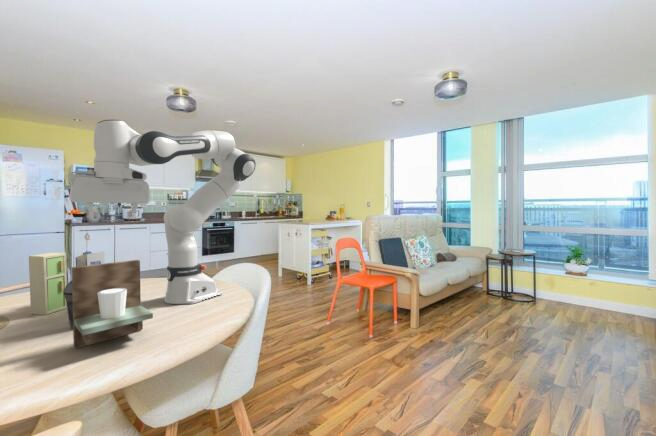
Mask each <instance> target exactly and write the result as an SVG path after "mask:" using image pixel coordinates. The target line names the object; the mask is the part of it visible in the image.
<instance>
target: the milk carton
mask: <svg viewBox="0 0 656 436" xmlns="http://www.w3.org/2000/svg"><path fill="white" fill-rule="evenodd" d="M97 264H105V251H100V252H92V251H86V252H82V254H80V255H79V256H76V257H75V267H79V266H81V265H83V266H88V265H97Z"/></svg>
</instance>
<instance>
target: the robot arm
mask: <svg viewBox="0 0 656 436" xmlns="http://www.w3.org/2000/svg"><path fill="white" fill-rule="evenodd" d="M93 149H94V151H95V152H94V153H95V157H94V160H93V167H94V168H93V171H92V170H91V171H90V170H89V171H88V170H87V171H86V170H85V171H84V170H75V171H72V172H70V173H69V174H68V184H69V185H70V191H69V200H70V201H71V202H72V203H85V208H86V209H87V211H88V212H89V213H90V218H91V219H98V218H99V216H98V215H99V212H97V211H95V210H94V209H93V207H94V203H95V204H96V203H97V204H98V203H99V204H102V203H103V204H106V203H107V204H130V207H132V208H131V209H130V211H126V213H127V214H126V217H127V218H129V219H131V218H134V217H135V212H136V211H137V209H138V208H139V204H149V202H150V201H151V191H150V186H149V184H148V183H149V182H147V181H146V180H147V174H146V173H144V172H142V171H138V170H135V169H133V168H130V164H131V165H134V166H138V167H139V166H140V167H144V166H152V165H164V164H166V163H168V162H170V161H172V160H173V159H175V158H176V157H180V156H181V157H182V156H192V157H193V158H195V159H197V160H211V162H212V163H213V165H215V166H216V167H218V168H220V169H221V171H220V172H219V173H218V175H216V176H215V177H213V178H211V179H209V181H207V182H206V183H204V184H203V185H202V186H201V187H199V188H198V189H196V190H195V192H194V193H193V194H192V195H191V196H190V197H189V198H188V199H186V201H185V202H184V203H182V204H181V205H173V206H171V207H169V208H168V209H167V210H166V211H165V212H164V215H163V222H164V230H165V231H164V232H165V236H166V237H165V238H166V243H167V266H166V281H167V284H166V291H165V297H164V300H163V302H165V303H166V304H170V305H171V304H172V305H181V304H188V305H193V304H197V303H200V302H203V301H202V300H204V301H206V300H205V299H207V300H209V299H208V298H210V299H212V298H211V297H213V296H216V295H219V294H221V293H222V290H220V289H218V288H217V284H216V282H215V280H214V279H213V278H212V277H210V276H208V275H207V274H206V273H204V272H202V271H206V270H207V265H205V264H199V263H198V244H197V242H196V238H195V233H194V232H197V231H198V230H199V229H201V228H202V226H203V224H204V223H205V222H206V220H207V219H208V218H209V217H210V216H211V215H212V214H213V212H215V210H217V209H218V208H219V207H220V206H221V205H223V204H224V203H225V202H226V201H227V200H228V199H230V198H231V197H232V196H233V195H234V194H235V193H236V192H237V191H238V189H239V188H240V186H241V182H243V181H245V180H246V179H249V177H251V176H252V175H253V174H254V172H255V170H256V165H257V164H256V160H255V159H254V158H253V157H252V156H251V155H250V154H249V153H246V152H244V151H243V150H240V149H239V148H236V140H235V138H234V136H233V135H232V134H231V133H230V132H227V131H224V130H216V129H215V130H211V129H210V130H207V129H206V130H200V131H199V130H198V131H195V132H192V133H190V134H189V135H181V136H179V135H178V136H177V135H176V136H174V135H173V136H172V135H170V134H166V133H164V132H161V131H157V130H154V131H153V130H152V131H147V132H146V133H143V134H140V133H139V132H137V131H135V130H134V129H132V127H130V126H129V125H128V124H127V123H126V122H125V121H124V120H120V119H104V120H100V121H98V122H97V123H96V124H95V127H94V131H93ZM222 294H223V293H222ZM216 297H217V296H216ZM213 298H214V297H213Z"/></svg>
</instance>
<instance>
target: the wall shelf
mask: <svg viewBox="0 0 656 436" xmlns="http://www.w3.org/2000/svg"><path fill="white" fill-rule="evenodd" d="M71 281H72V301H73V330H72V333H73V334H72V335H73V337H72V338H73V348H74V349H80V348H82V347H86V346H89V345H94V344H98V343H101V342H104V341H108V340H112V339H116V338H120V337H123V336H127V335H131V334H135V333H139V332H142V331H143V329H144V328H143V326H144V325H143V321H147V320H150V319H153V318H154V317H153V316H154V313H153V312H152V311H150V310H149V309H147V308H146V307H144V306H142V305H141V301H142V300H141V260H140V259H134V260H133V259H132V260H125V261H117V262H116V261H115V262H108V263H107V262H106V263H105V262H104V264H97V265H88V266H79V267H76V266H72V267H71ZM112 288H126V289H127V295H126V306H125V314H124V315H122V316H120V317H117V318H111V319H102V318H101V316H100V309H99V301H98V294H97V293H98V292H99V291H102V290H106V289H112Z"/></svg>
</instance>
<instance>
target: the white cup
mask: <svg viewBox="0 0 656 436" xmlns="http://www.w3.org/2000/svg"><path fill="white" fill-rule="evenodd" d="M97 294H98V301H99V309H100V316H101V318H102V319H111V318H117V317H120V316H122V315H124V314H125V306H126V295H127V289H126V288H112V289H106V290H102V291H99V292H98V293H97Z"/></svg>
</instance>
